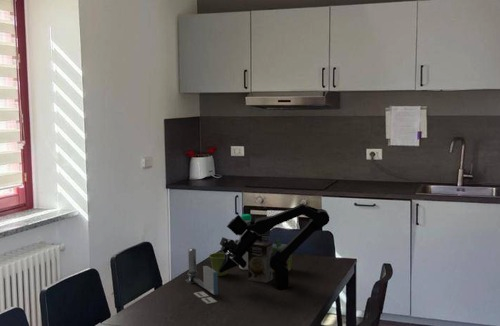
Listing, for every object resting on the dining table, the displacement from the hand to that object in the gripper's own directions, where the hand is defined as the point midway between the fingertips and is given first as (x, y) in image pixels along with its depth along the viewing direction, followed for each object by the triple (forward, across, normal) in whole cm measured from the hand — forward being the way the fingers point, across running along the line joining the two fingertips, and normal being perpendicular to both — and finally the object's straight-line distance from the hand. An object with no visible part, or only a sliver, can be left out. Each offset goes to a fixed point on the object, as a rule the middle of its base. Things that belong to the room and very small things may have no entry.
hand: (219, 271), depth 254 cm
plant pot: (+1, -22, +10) cm, 24 cm away
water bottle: (-9, -27, +20) cm, 35 cm away
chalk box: (-18, -18, +29) cm, 38 cm away
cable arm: (+9, -3, +1) cm, 9 cm away
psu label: (+12, +3, -1) cm, 12 cm away
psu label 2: (+11, +11, 0) cm, 16 cm away
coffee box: (-9, -8, +20) cm, 23 cm away
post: (+11, -16, 0) cm, 19 cm away
